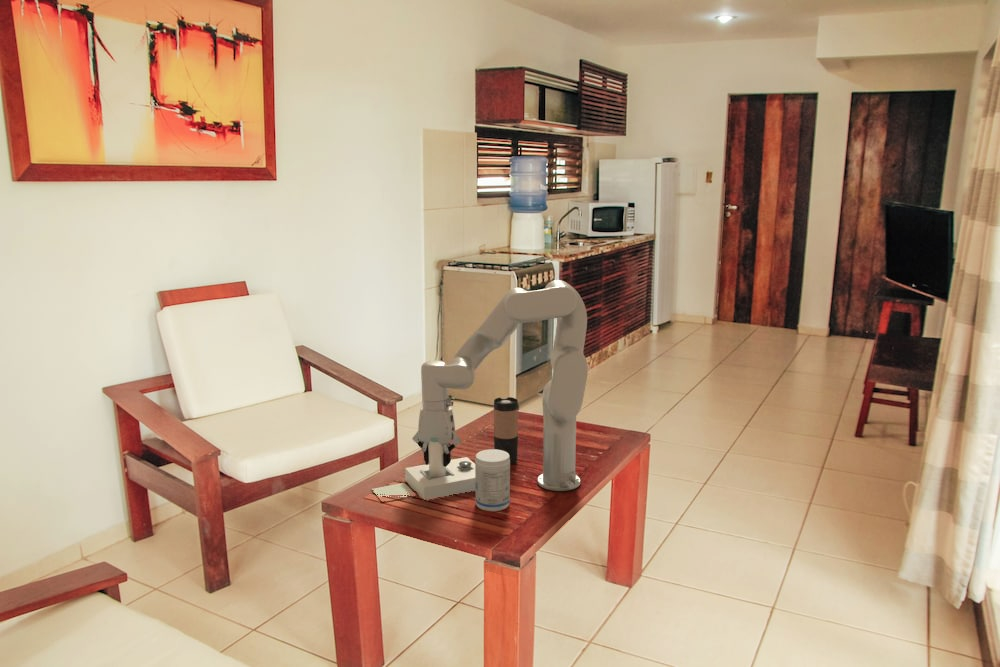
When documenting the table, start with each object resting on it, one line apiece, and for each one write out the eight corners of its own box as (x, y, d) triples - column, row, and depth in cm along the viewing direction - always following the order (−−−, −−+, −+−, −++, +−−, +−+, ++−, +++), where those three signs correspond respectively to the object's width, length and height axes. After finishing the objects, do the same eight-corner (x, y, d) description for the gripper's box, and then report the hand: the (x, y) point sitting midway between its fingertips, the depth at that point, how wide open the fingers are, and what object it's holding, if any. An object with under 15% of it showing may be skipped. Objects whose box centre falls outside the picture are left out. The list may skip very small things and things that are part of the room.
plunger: (473, 479, 225) (473, 464, 224) (462, 481, 224) (461, 466, 223) (468, 475, 228) (468, 460, 228) (457, 477, 227) (457, 462, 226)
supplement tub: (474, 498, 214) (473, 449, 211) (508, 497, 215) (507, 447, 212) (476, 513, 204) (476, 462, 201) (511, 512, 205) (511, 460, 202)
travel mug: (508, 467, 237) (508, 405, 233) (489, 461, 241) (488, 401, 237) (522, 459, 243) (522, 399, 238) (503, 454, 247) (503, 395, 243)
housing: (488, 487, 221) (488, 474, 220) (424, 501, 212) (423, 486, 212) (466, 469, 235) (466, 456, 234) (405, 480, 226) (404, 467, 226)
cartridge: (449, 478, 224) (448, 433, 221) (443, 485, 219) (442, 439, 216) (432, 476, 225) (431, 431, 222) (426, 483, 220) (425, 437, 218)
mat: (415, 496, 215) (415, 495, 215) (381, 503, 211) (381, 502, 211) (404, 483, 224) (404, 482, 224) (371, 489, 220) (371, 488, 220)
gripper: (467, 402, 219) (469, 462, 222) (412, 398, 223) (414, 457, 227) (459, 410, 211) (461, 471, 215) (402, 406, 216) (405, 466, 220)
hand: (437, 463), depth 221 cm, fingers closed on cartridge, 5 cm apart
